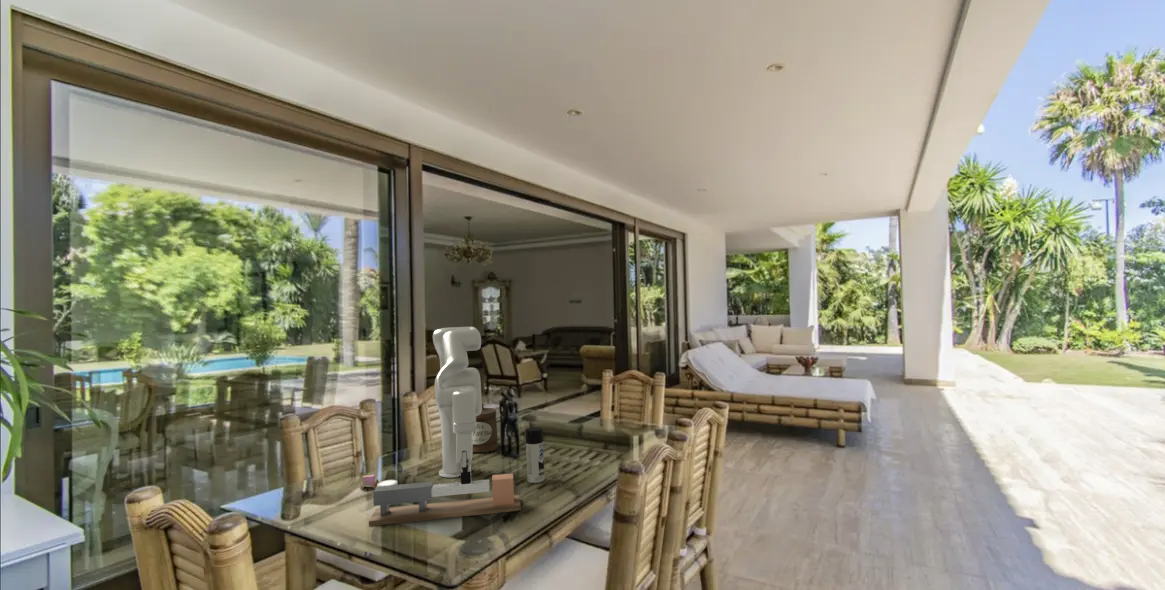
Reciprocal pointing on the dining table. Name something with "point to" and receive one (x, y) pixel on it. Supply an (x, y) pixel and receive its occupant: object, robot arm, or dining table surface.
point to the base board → (442, 511)
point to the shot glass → (387, 483)
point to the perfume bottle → (370, 480)
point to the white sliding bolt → (460, 488)
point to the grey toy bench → (402, 495)
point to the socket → (503, 489)
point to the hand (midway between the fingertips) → (466, 480)
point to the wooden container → (485, 431)
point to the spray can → (534, 455)
